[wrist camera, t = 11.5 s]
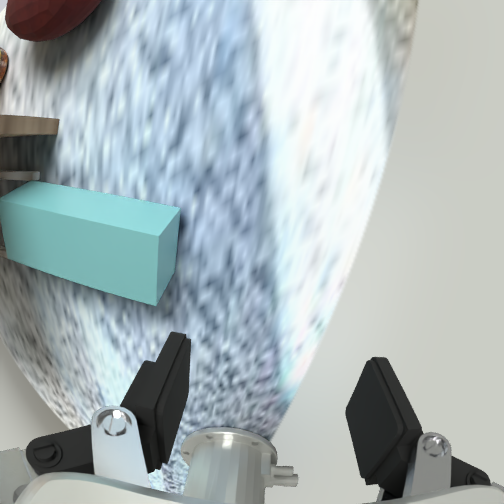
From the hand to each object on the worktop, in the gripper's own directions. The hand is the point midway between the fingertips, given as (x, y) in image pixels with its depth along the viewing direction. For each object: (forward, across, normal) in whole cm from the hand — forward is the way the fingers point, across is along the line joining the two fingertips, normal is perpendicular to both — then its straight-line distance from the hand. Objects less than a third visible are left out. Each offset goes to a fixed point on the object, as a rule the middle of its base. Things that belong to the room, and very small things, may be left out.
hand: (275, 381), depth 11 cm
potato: (+16, +23, -23) cm, 36 cm away
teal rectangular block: (+15, +16, -1) cm, 22 cm away
